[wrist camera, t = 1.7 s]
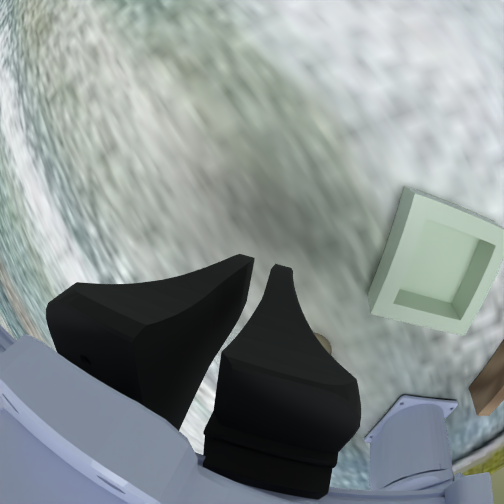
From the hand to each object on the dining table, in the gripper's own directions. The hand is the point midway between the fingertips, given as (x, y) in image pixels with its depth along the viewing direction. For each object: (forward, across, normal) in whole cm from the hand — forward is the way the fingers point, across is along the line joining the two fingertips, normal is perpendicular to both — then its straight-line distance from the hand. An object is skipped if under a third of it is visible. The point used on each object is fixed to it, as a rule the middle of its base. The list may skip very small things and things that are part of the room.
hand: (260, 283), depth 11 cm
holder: (+10, -11, 0) cm, 15 cm away
